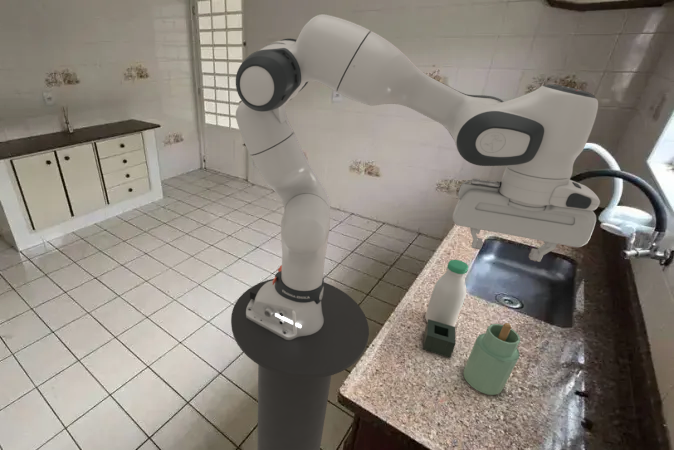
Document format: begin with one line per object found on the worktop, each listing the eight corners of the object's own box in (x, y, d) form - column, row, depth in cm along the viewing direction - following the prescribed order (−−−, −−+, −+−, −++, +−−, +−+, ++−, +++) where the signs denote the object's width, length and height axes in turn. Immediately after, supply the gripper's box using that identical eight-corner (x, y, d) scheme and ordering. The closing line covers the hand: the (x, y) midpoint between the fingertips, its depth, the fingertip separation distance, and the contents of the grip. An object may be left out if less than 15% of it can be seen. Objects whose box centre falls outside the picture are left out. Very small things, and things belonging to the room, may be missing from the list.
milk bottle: (453, 335, 95) (475, 276, 85) (422, 325, 98) (440, 266, 89) (455, 318, 101) (476, 261, 91) (426, 309, 104) (443, 252, 95)
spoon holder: (422, 349, 91) (427, 335, 89) (423, 332, 96) (428, 319, 94) (450, 357, 88) (455, 343, 86) (450, 340, 93) (455, 326, 91)
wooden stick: (480, 380, 82) (505, 326, 74) (479, 372, 84) (504, 319, 75) (487, 382, 81) (513, 328, 73) (486, 374, 83) (511, 321, 75)
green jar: (463, 386, 81) (484, 339, 74) (462, 361, 87) (481, 316, 80) (504, 400, 78) (529, 353, 71) (500, 373, 84) (523, 327, 77)
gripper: (463, 182, 62) (443, 248, 69) (614, 203, 54) (575, 276, 60) (462, 171, 67) (443, 234, 73) (600, 189, 59) (565, 257, 65)
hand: (504, 253), depth 67 cm, fingers open, 8 cm apart
